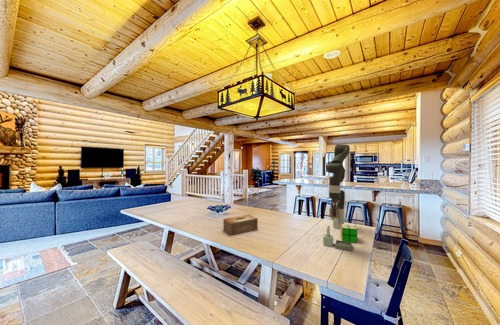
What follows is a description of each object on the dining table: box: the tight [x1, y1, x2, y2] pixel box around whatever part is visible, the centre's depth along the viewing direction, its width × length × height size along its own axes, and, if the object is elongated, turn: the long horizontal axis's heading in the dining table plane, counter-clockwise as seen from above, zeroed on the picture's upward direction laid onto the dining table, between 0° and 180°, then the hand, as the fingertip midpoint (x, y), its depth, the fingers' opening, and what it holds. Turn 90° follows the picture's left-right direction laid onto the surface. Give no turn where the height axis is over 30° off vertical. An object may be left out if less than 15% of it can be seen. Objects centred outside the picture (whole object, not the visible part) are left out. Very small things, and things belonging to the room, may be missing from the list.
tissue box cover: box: [222, 214, 259, 236], centre depth 174 cm, size 26×14×10 cm, turn 121°
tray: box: [334, 239, 353, 252], centre depth 140 cm, size 10×10×2 cm
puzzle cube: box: [339, 223, 358, 244], centre depth 153 cm, size 10×10×10 cm
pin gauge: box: [326, 225, 331, 237], centre depth 144 cm, size 2×2×12 cm
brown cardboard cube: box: [328, 206, 340, 219], centre depth 142 cm, size 6×6×6 cm
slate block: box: [322, 233, 334, 248], centre depth 144 cm, size 6×6×6 cm
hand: (334, 215), depth 142 cm, fingers closed on brown cardboard cube, 6 cm apart
